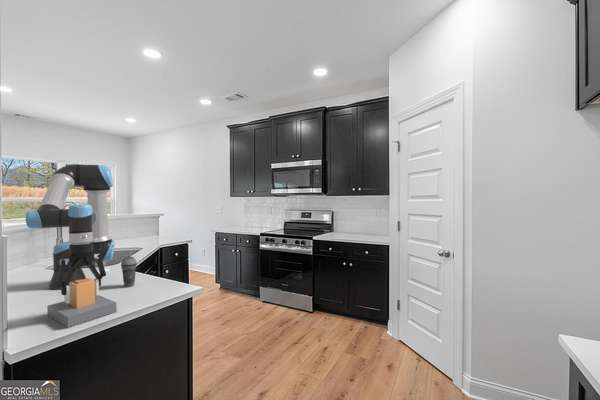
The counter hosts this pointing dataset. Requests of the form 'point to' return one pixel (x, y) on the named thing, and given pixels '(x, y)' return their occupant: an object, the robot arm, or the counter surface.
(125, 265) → the beverage cup
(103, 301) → the socket
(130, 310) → the counter surface
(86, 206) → the robot arm
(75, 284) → the plug
